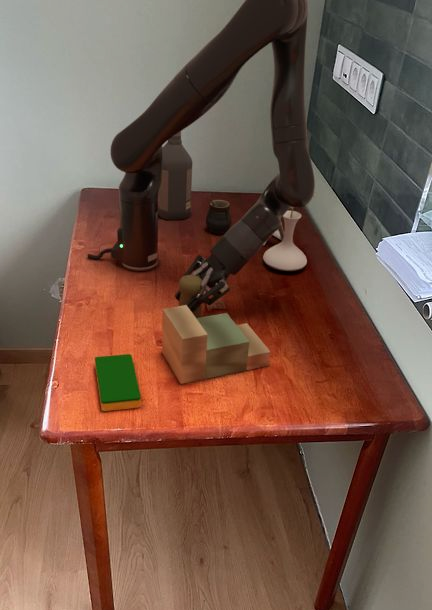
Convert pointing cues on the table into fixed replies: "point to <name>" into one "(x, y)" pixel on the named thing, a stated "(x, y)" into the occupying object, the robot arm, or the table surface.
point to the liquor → (175, 181)
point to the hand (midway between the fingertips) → (182, 305)
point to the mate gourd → (218, 216)
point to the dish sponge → (117, 382)
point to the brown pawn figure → (190, 291)
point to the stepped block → (209, 345)
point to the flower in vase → (286, 247)
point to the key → (216, 304)
